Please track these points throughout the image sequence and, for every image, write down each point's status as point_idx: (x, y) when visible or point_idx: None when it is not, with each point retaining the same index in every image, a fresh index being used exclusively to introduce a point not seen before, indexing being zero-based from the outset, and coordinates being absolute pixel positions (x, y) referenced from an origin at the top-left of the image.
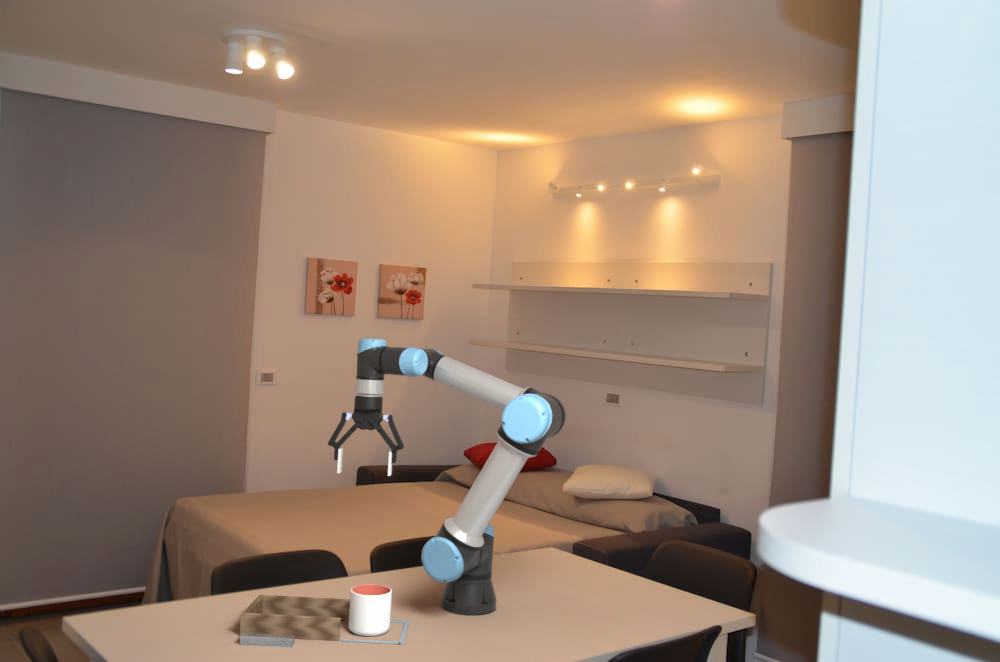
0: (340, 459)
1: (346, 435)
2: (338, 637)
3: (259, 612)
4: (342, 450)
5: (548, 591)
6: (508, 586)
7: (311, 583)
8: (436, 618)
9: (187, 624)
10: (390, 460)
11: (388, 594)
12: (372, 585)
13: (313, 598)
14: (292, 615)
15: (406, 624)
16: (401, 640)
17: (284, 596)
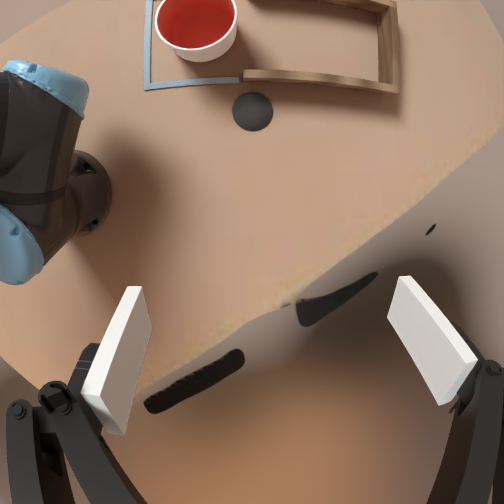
0: (434, 320)
1: (485, 450)
2: None
3: (383, 69)
4: (437, 387)
5: (17, 285)
6: (57, 299)
7: (332, 260)
8: (107, 120)
9: (447, 59)
10: (104, 346)
11: (160, 5)
12: (198, 48)
13: (313, 74)
14: None
15: (146, 72)
16: (148, 6)
17: (362, 82)
